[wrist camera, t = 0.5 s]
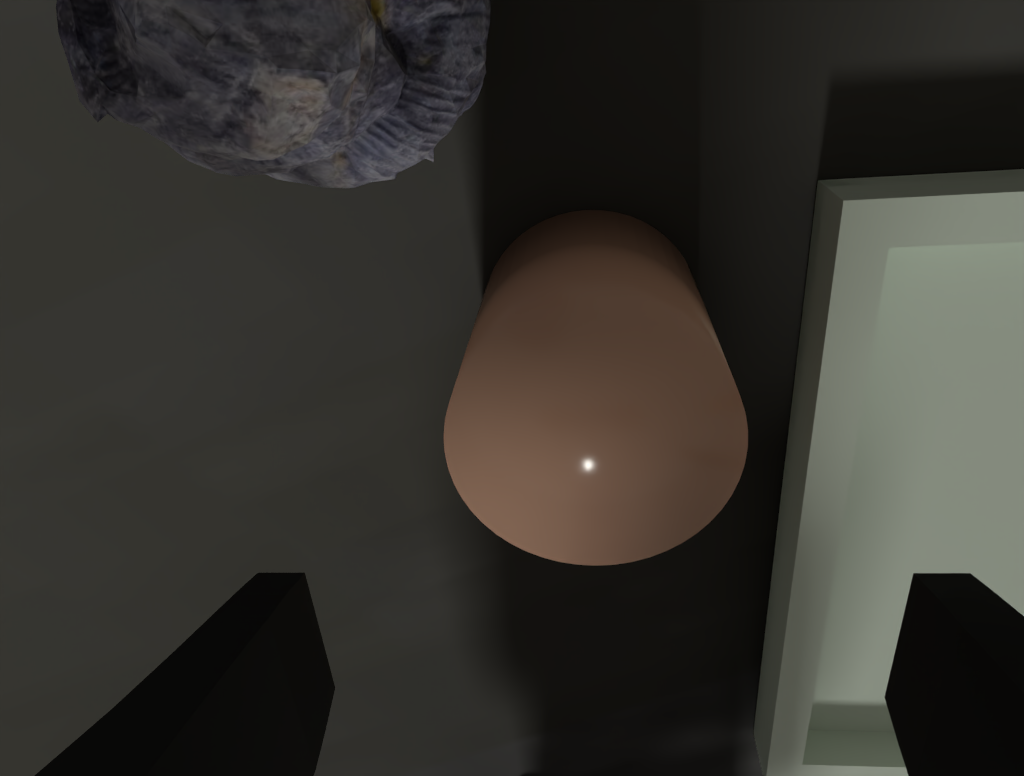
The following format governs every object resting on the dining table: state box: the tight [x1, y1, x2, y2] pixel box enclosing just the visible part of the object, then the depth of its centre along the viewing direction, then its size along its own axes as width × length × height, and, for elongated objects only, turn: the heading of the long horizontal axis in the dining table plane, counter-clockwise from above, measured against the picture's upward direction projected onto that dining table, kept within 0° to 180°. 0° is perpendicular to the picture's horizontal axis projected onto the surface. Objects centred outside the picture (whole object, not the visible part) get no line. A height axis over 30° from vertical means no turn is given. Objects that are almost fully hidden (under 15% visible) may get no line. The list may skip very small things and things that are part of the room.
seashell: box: [56, 0, 491, 188], centre depth 11 cm, size 5×5×10 cm
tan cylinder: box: [444, 210, 748, 566], centre depth 15 cm, size 5×5×6 cm
